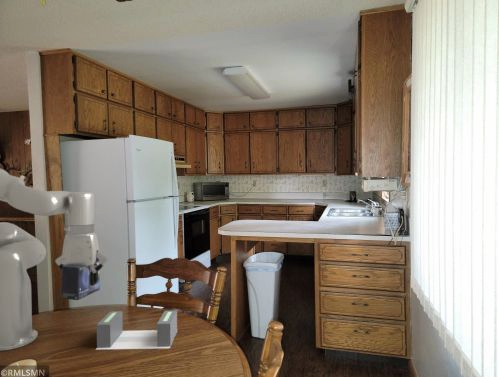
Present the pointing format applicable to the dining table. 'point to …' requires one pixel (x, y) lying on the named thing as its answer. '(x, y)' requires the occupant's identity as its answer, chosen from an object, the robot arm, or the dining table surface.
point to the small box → (78, 282)
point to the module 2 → (166, 328)
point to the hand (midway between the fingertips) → (81, 283)
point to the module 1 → (109, 329)
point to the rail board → (136, 340)
